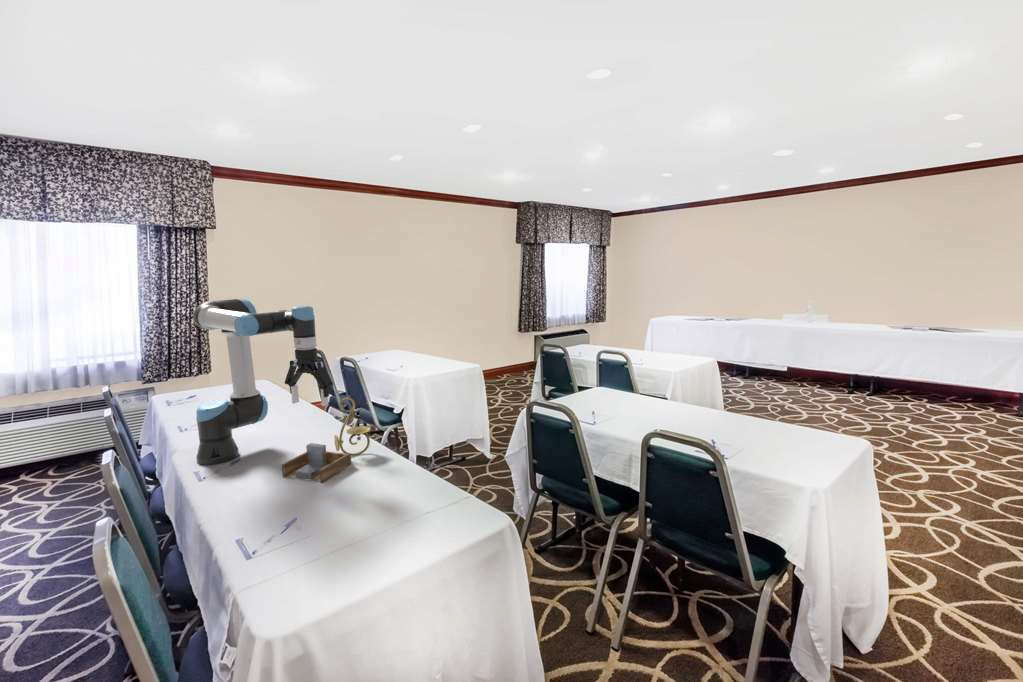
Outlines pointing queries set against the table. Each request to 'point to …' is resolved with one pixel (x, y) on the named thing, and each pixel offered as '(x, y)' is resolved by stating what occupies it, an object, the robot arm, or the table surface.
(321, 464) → the angle bracket
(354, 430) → the wall sconce
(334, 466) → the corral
